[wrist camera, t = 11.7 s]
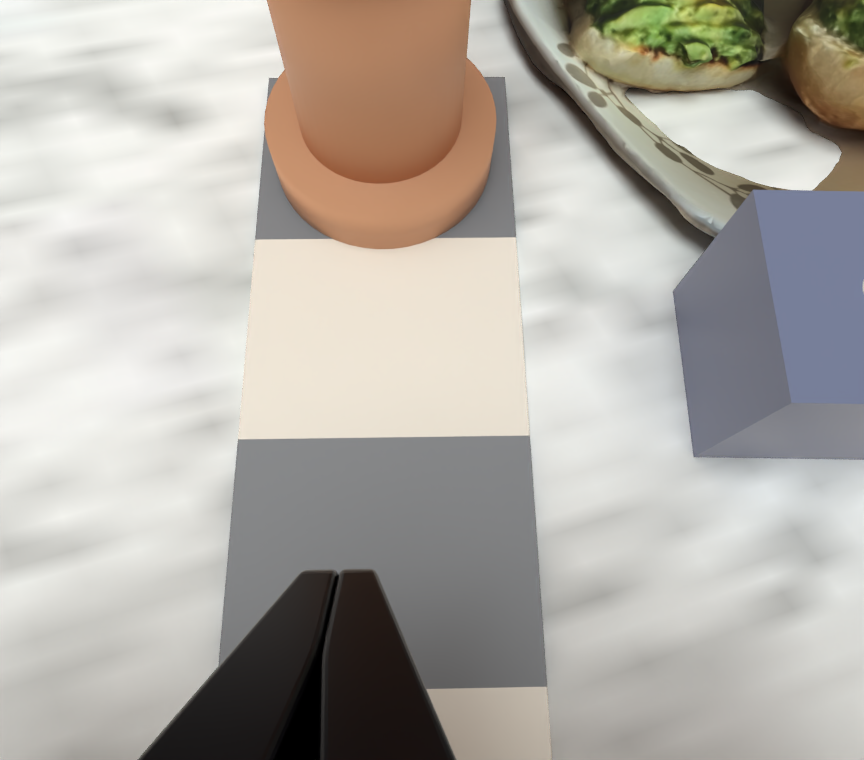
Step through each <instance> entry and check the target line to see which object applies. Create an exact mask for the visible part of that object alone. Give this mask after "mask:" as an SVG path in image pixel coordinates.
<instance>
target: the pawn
mask: <svg viewBox="0 0 864 760" xmlns="http://www.w3.org/2000/svg"><path fill="white" fill-rule="evenodd" d="M267 2H268V6H269V10H270V14H271V18H272V22H273V26H274V29H275V33H276V37H277V41H278V45H279V49H280V53H281V57H282V60H283V64H284V68H285V70H284V71H283V73H282V74H281V75H280V76H279V78H278V80H277V81H276V83H275V85H274V86H273V88H272V91H271V93H270V96H269V98H268V101H267V106H266V110H265V121H264V126H265V136H266V140H267V144H268V147H269V150H270V153H271V156H272V159H273V162H274V165H275V168H276V171H277V174H278V177H279V180H280V183H281V186H282V189H283V191H284V193H285V195H286V197H287V199H288V201H289V202H290V204H291V205H292V207H293V209H294V210H295V211H296V212H297V213H298V214H299V215H300V217H301V218H302V219H303V220H305V221H306V222H307V223H308V224H309V225H310V226H312V227H313V228H314V229H316V230H318V231H319V232H321V233H322V234H324V235H326V236H328V237H330V238H332V239H334V240H336V241H339V242H342V243H345V244H348V245H352V246H357V247H362V248H370V249H395V248H402V247H409V246H412V245H416V244H420V243H423V242H426V241H428V240H431V239H433V238H436V237H438V236H439V235H441V234H443V233H445V232H447V231H448V230H450V229H451V228H452V227H454V226H455V225H457V224H458V223H459V222H460V221H461V220H462V219H463V218H465V217H466V216H467V215H468V214H469V212H470V211H471V210H472V209H473V207H474V206H475V205H476V204H477V202H478V200H479V199H480V197H481V195H482V193H483V191H484V188H485V186H486V184H487V180H488V176H489V172H490V165H491V159H492V152H493V145H494V139H495V132H496V108H495V103H494V99H493V95H492V93H491V91H490V88H489V86H488V84H487V82H486V81H485V79H484V77H483V76H482V74H481V73H480V71H479V70H478V69H477V68H476V67H475V65H474V64H473V63H472V62H471V61H470V60H469V59H468V58H466V57H467V44H468V31H469V18H470V5H471V0H267Z"/></svg>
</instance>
